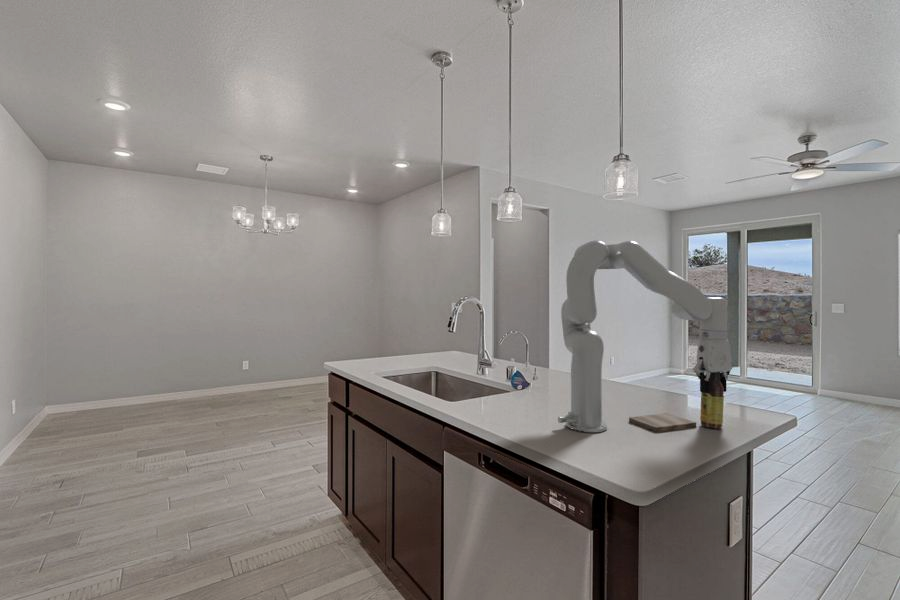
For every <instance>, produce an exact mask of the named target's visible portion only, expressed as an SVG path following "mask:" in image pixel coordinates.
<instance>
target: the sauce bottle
mask: <svg viewBox="0 0 900 600" xmlns="http://www.w3.org/2000/svg"><path fill="white" fill-rule="evenodd" d="M708 381H710V393H704V392H700V396H701V397H700V417H699V418H700V419H699V420H700V425H702V426H703V427H705V428H710V429H717V430H719V429H722V427H723V423H724V400H725V396H724V393H725V392H724V387H723V385H722V383H721V382H720V372H711V373H710V377H709V380H708Z"/></svg>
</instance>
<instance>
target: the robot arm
mask: <svg viewBox="0 0 900 600" xmlns="http://www.w3.org/2000/svg"><path fill="white" fill-rule="evenodd" d="M619 269H625V271H627V273H629V274H630V275H631V276H632V277H633V278H634V279H636V280H637V281H638V282H639V283H640V284H641V285H642V286H643V287H644V288H645V289H647V290H649V291H651V292H654V293H655V294H659V295H661V296H664V297H666V298H668V299H669V300H671V301H673V302H672V304H671V306H670V307H671V309H670V310H671V313H672V314H673V316H675V317H676V318H678V319H680V320H682V321H683V320H684V321H694V322H699V341H698V344H697V351H696V363H695V366H694V367H693V368H692V371H693V372H694V373H695V374H696V377H698V378H697V379H698V380H699V392H700V393H701V392H704V393H710V381H708V380H709V377H710V373H711V372H720V382H721V383H722V385H723V387H724V393H725V392H727V380H728V379H729V375H730V372H731V371H732V369H733V365H732V352H731V345H730V342H729V339H728V301H727V299H726V298H725V297H719V296H715V297H709V296H708V297H707V296H706V295H705V294H704V293H703V292H702V291H700V290H699V289H698V288H697V287H696V286H694V285H693V284H692V283H691V282H689V281H688V280H686V279H684V278H682V276H680V275H678V274H676V273H675V272H673V271H671V270H669V269H668V268H666V267H665V266H664V265H663V264H661V262H660V261H658V259H656V258H655V257H654V256H653V255H652V254H651V253H650V252H649V251H647V250H646V248H644V247H643V246H641V244H639V242H636V241H633V240H625V241H623V242H620V243H614V244H613V243H612V244H606V243H605V242H603V241H601V240H590V241H589V242H585V243H583V244H582V245H580V246H579V247H577V248H576V250H575V251H574V254H573V257H572V258H571V260H570V262H569V264H568V266H567V270H566V276H565V278H566V280H565V283H566V284H565V285H566V295H567V296H566V297H567V298H566V299H565V301H564V302H563V303H562V305H561V312H560V314H561V315H560V316H561V317H560V318H561V325H562V333H563V334H562V335H563V341H564V346H565V348H566V349H567V350H568V352H570V353H571V354H572V355H571V361H570V362H571V363H570V411H569V412H567V415H565V416H563V415H562V416H558V417H557V421H558V423H559V424H563V423H565V426H566V425H567V426H568V427H570V428H573V429H575V430H574V431H576V430H579V431H578V432H581V431H584V432H583V433H601V432H604V431H607V429H608V425H607V423H606V422H604V421H603V405H602V403H603V394H602V393H603V390H602V389H603V385H602V384H603V383H602V381H603V379H602V377H603V375H602V373H603V372H602V370H603V369H602V368H603V359H604V348H605V347H604V346H605V345H604V341H603V339H602V337H601V336H600V335H599V333H597V332H596V331H594V330H592V328H591V324H592V323H593V322H594V321H595V320H596V317H597V315H598V311H597V309H598V307H597V302H596V293H595V275H596V272H597V270H619ZM567 426H566V427H567ZM568 427H567V428H568ZM570 428H569V429H570Z"/></svg>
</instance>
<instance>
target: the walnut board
mask: <svg viewBox="0 0 900 600" xmlns="http://www.w3.org/2000/svg"><path fill="white" fill-rule="evenodd" d="M628 421H629V423H631V424H633V423H634V424H633V425H636V426H638V425H639V426H638V427H641V428H643V429H647V430H649V431H652V432H654V433H661V432H670V431H678V430H685V429H691V428H692V429H693V428H697V422H696V421H694V420H689V419H686V418H683V417H681V416H677V415H674V414H671V413H667V412H665V413H657V414H655V413H654V414H648V415H641V416H640V415H638V416H630V417H628Z"/></svg>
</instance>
